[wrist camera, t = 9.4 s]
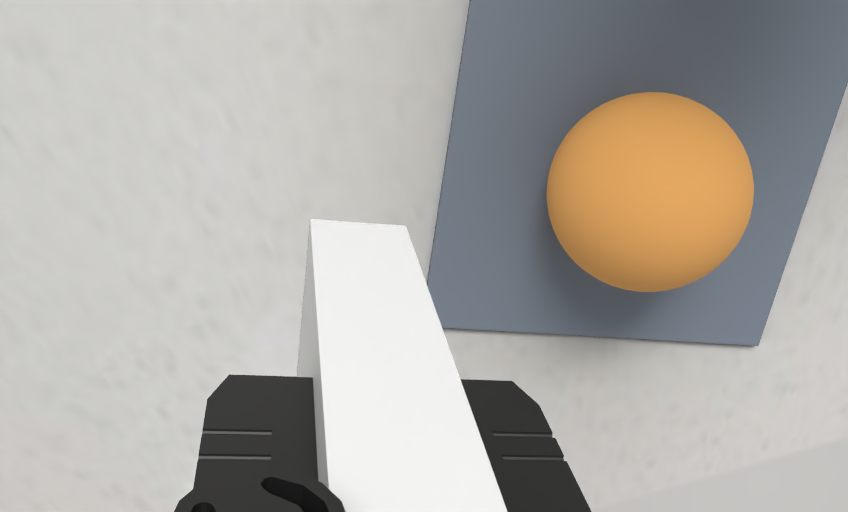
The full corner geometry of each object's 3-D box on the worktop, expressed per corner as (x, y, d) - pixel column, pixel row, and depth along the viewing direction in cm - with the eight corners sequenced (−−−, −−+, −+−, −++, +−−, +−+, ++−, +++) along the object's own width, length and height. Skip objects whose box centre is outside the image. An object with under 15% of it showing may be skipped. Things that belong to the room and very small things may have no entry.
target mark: (420, 323, 26) (421, 326, 26) (480, -71, 21) (482, -71, 21) (755, 342, 28) (758, 345, 28) (875, -13, 23) (879, -12, 23)
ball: (741, 289, 24) (576, 233, 27) (800, 109, 22) (614, 68, 25) (687, 349, 20) (495, 275, 22) (753, 131, 18) (533, 78, 20)
